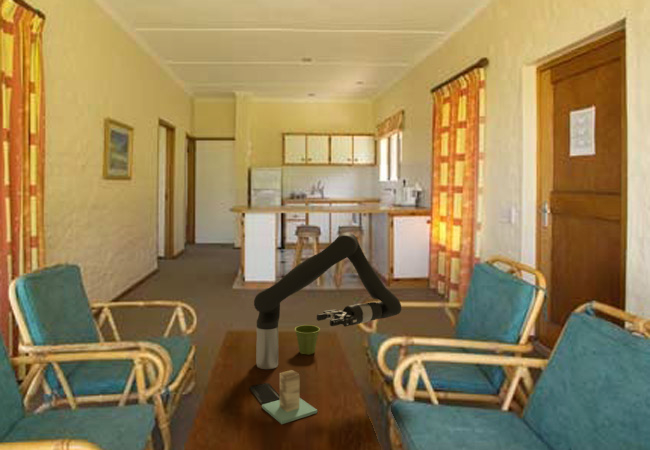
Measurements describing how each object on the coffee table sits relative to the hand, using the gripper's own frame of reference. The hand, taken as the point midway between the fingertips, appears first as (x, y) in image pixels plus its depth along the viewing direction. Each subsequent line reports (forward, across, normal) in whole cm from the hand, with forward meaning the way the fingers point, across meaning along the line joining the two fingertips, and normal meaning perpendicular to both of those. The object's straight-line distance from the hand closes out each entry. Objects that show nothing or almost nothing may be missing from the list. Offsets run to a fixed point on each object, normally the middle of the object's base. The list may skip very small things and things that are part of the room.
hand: (323, 320), depth 174 cm
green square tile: (+17, +4, +28) cm, 33 cm away
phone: (+18, -12, +29) cm, 36 cm away
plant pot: (-19, -40, +28) cm, 52 cm away
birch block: (+17, +4, +27) cm, 32 cm away
